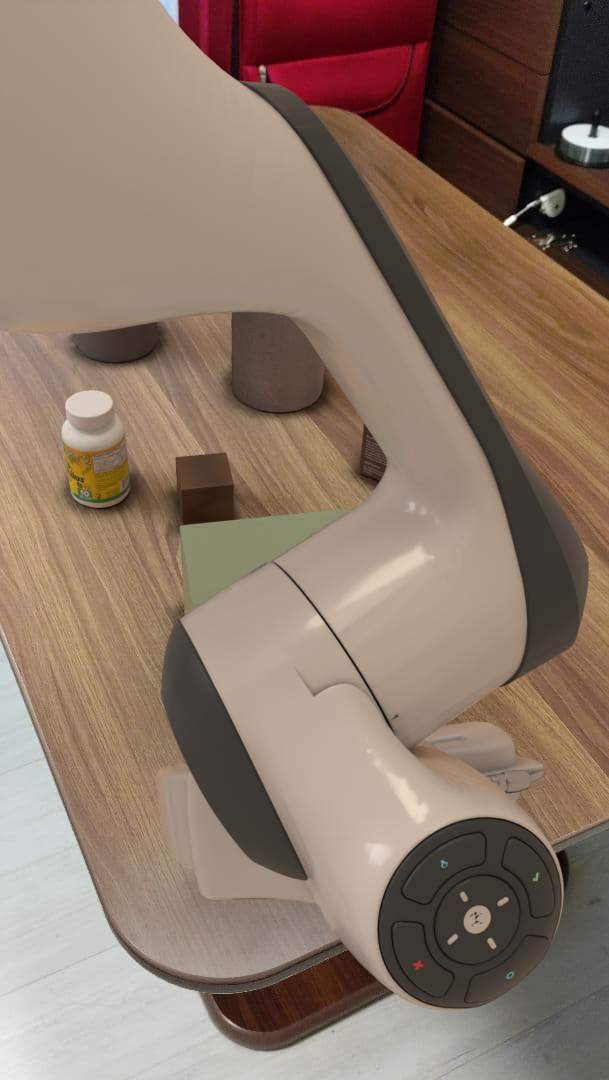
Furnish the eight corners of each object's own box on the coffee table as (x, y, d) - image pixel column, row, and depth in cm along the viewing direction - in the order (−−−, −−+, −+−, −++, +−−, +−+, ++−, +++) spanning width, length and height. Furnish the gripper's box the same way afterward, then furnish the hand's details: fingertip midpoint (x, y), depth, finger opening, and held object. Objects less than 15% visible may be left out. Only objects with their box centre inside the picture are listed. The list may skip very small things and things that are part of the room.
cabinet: (380, 729, 71) (394, 643, 64) (207, 755, 68) (203, 668, 62) (337, 595, 80) (346, 507, 74) (184, 613, 78) (179, 525, 71)
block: (183, 528, 85) (181, 489, 82) (177, 495, 88) (175, 456, 85) (234, 523, 86) (233, 484, 83) (226, 490, 89) (226, 452, 86)
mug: (145, 369, 103) (137, 264, 94) (62, 357, 104) (47, 253, 95) (179, 305, 113) (175, 205, 104) (103, 295, 113) (93, 195, 105)
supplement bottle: (140, 498, 88) (132, 411, 81) (84, 517, 86) (71, 429, 79) (116, 465, 91) (106, 378, 84) (61, 482, 89) (47, 395, 82)
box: (442, 463, 94) (453, 400, 88) (414, 497, 90) (425, 433, 85) (385, 441, 96) (394, 378, 91) (356, 473, 92) (363, 410, 87)
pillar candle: (212, 380, 102) (209, 246, 92) (284, 351, 107) (289, 220, 96) (270, 425, 97) (274, 289, 86) (343, 392, 101) (355, 259, 91)
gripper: (552, 716, 50) (462, 685, 64) (156, 775, 47) (149, 729, 60) (566, 837, 50) (473, 781, 64) (170, 906, 47) (161, 831, 60)
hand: (313, 756), depth 62 cm, fingers open, 8 cm apart
